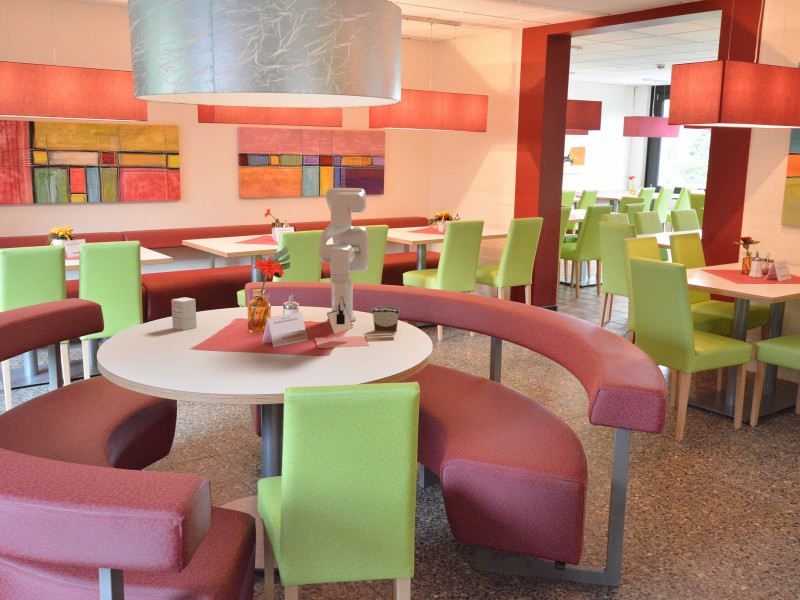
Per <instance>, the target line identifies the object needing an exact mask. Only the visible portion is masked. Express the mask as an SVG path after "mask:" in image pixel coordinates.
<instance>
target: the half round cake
mask: <svg viewBox="0 0 800 600" xmlns="http://www.w3.org/2000/svg"><path fill="white" fill-rule="evenodd" d="M371 314H372V315H373V316H372V318H373V327H374V332H376V331H377V332H378V331H379V332H398V323H399V315H400V314H401V311H400V308H399V307H396V306H386V305H385V306H384V305H383V306H375V307H372V309H371Z"/></svg>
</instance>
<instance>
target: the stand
mask: <svg viewBox="0 0 800 600" xmlns="http://www.w3.org/2000/svg"><path fill="white" fill-rule="evenodd" d="M394 337H395V336H393V333H374V334H372V333H371V334H364V339H365V340H366V342H379V341H380V342H381V341H394V340H395V338H394Z"/></svg>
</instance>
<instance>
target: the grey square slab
mask: <svg viewBox="0 0 800 600" xmlns="http://www.w3.org/2000/svg"><path fill="white" fill-rule="evenodd" d="M344 314H345V324H337V310H334V311H332V310H331V311H328V312H326V315H327V318H328V321H329V324H330V327H331V330H332V334H333V335H334V336H335V335H336V334H337V335H338V334H341V333H343V332H346V331H349V330H352V329H354V327H353V324H352V321H350V318H349V315H348V312H347V309H346V307H344Z"/></svg>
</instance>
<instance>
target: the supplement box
mask: <svg viewBox="0 0 800 600" xmlns="http://www.w3.org/2000/svg"><path fill="white" fill-rule="evenodd" d="M196 301H197V300H196V299H195V298H191V297H186V296H185V297H179V298H173V299H171V301H170V302H171V317H172V318H171V319H172V328H173V329H175V330H179V331H187V330H191V329H195V328H197V307H196V306H197V305H196V304H197V303H196Z"/></svg>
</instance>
